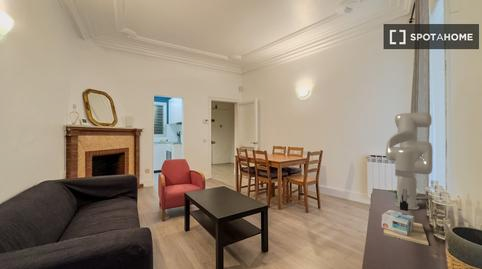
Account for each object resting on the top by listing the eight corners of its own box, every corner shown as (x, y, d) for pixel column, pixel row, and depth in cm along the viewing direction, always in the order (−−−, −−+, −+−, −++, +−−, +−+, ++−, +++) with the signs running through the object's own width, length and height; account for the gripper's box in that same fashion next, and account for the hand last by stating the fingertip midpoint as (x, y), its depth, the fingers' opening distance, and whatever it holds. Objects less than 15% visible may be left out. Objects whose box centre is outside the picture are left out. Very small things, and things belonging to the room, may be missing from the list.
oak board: (384, 218, 118) (384, 216, 118) (421, 225, 109) (421, 224, 109) (383, 234, 100) (383, 232, 100) (428, 245, 91) (428, 243, 91)
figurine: (408, 200, 147) (408, 188, 146) (387, 197, 153) (387, 186, 153) (407, 199, 149) (408, 187, 149) (387, 196, 156) (387, 185, 156)
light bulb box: (414, 215, 103) (408, 221, 97) (413, 229, 103) (407, 236, 97) (388, 209, 112) (381, 214, 105) (388, 221, 112) (381, 227, 105)
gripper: (394, 170, 113) (394, 204, 114) (395, 175, 101) (394, 213, 101) (412, 172, 109) (412, 207, 109) (415, 177, 96) (415, 217, 97)
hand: (403, 209), depth 105 cm, fingers closed
